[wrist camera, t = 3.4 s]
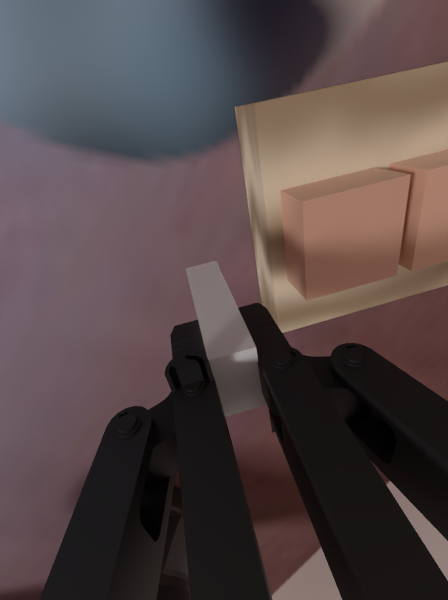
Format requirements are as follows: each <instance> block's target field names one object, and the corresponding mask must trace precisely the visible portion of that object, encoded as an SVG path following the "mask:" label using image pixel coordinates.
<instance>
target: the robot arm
mask: <svg viewBox="0 0 448 600" xmlns="http://www.w3.org/2000/svg"><path fill="white" fill-rule="evenodd" d="M186 272H187V276H188V280H189V284H190V288H191V293H192V297H193V301H194V305H195V309H196V313H197V317H198V320H195V321H191V322H188V323H184V324H180V325H177V326H174V329H173V331H172V333H171V335H170V336H171V345H172V356H173V359H172V360H171V361H170V362H169V364H168V365H167V367H166V370H165V376H166V378H167V381H168V383H169V386H170V388H171V393H170V395H169V396H168V397H167V398H166V399H165V400H163V401H162V402H161V403H159V404H158V405H156V406H154V407H152V408H151V409H149V410H147V409H146V408H144V407H140V406H133V407H129V408H126V409H124V410H122V411H121V412H119V413H117V414H116V415H115V416H114V417H113V418H112V419H111V421H110V422H109V424H108V426H107V427H106V430H105V432H104V435H103V437H102V440H101V443H100V445H99V448H98V450H97V453H96V455H95V458H94V461H93V463H92V466H91V468H90V471H89V474H88V476H87V479H86V481H85V484H84V486H83V489H82V492H81V494H80V497H79V499H78V502H77V504H76V507H75V510H74V512H73V515H72V517H71V520H70V523H69V525H68V528H67V530H66V533H65V535H64V538H63V541H62V543H61V546H60V548H59V551H58V554H57V556H56V559H55V561H54V564H53V566H52V569H51V572H50V574H49V577H48V579H47V582H46V584H45V587H44V590H43V592H42V595H41V597H40V600H190V598H191V600H272V597H271V593H270V589H269V585H268V581H267V577H266V574H265V570H264V566H263V562H262V558H261V554H260V550H259V546H258V543H257V539H256V535H255V531H254V527H253V523H252V519H251V515H250V511H249V508H248V504H247V500H246V496H245V492H244V488H243V484H242V480H241V477H240V473H239V469H238V465H237V461H236V457H235V453H234V449H233V445H232V442H231V438H230V434H229V430H228V427H227V423H226V419H225V417H228V416H231V415H234V414H238V413H241V412H244V411H248V410H251V409H254V408H257V407H261V406H264V405H265V401H266V403H267V406H268V408H269V414H270V420H271V427H272V433H273V432H276V434H277V437H278V439H279V442H280V444H281V447H282V449H283V452H284V454H285V457H286V459H287V462H288V464H289V467H290V469H291V472H292V474H293V477H294V479H295V482H296V484H297V487H298V489H299V492H300V494H301V497H302V499H303V502H304V504H305V507H306V509H307V512H308V514H309V517H310V520H311V522H312V525H313V527H314V530H315V532H316V535H317V537H318V540H319V542H320V545H321V547H322V550H323V552H324V555H325V557H326V560H327V562H328V565H329V567H330V570H331V572H332V574H333V577H334V579H335V582H336V585H337V587H338V590H339V592H340V595H341V597H342V600H448V581H447V579H446V577H445V576H444V574H443V573H442V571H441V570H440V568H439V567H438V565H437V563H436V562H435V560H434V559H433V558H432V556H431V554H430V553H429V551H428V550H427V548H426V546H425V545H424V543H423V542H422V540H421V539H420V537H419V536H418V534H417V532H416V531H415V529H414V528H413V526H412V525H411V523H410V521H409V520H408V518H407V517H406V515H405V514H404V512H403V511H402V509H401V507H400V506H399V504H398V503H397V501H396V500H395V498H394V497H393V495H392V493H391V492H390V490H389V489H388V487H387V486H386V484H385V482H384V481H383V479H382V478H381V476H380V475H379V473H378V472H377V470H376V468H375V467H374V465H373V464H372V462H373V463H374V464H375V465H376V466H377V467H378V468H379V469H380V471H381V472H382V473H383V474H384V475H385V476H386V477H387V478H388V479H389V480H390V481H391V482H392V483H393V484H394V485H395V486H396V487H397V488H398V489H399V490H400V491H401V492H402V493H403V495H404V496H405V497H406V498H407V499H408V500H409V501H410V502H411V503H412V504H413V505H414V506H415V507H416V508H417V509H418V510H419V511H420V512H421V513H422V514H423V515H424V516H425V518H426V519H427V520H428V521H430V523H431V524H432V525H433V526H434V527H435V528H436V529H437V530H438V531H439V532H440V533H441V534H442V535H443V536H444V537H445V538H446V539H447V541H448V401H446V400H445V399H443V398H442V397H441V396H439V395H438V394H436V393H435V392H433V391H432V390H430V389H429V388H427V387H426V386H424V385H423V384H422V383H420V382H419V381H417V380H416V379H414V378H413V377H411V376H410V375H408V374H407V373H405V372H404V371H403V370H401V369H400V368H398V367H397V366H395V365H394V364H392V363H391V362H389V361H388V360H386V359H385V358H384V357H382V356H381V355H379V354H378V353H376V352H375V351H373V350H372V349H370V348H368V347H366V346H364V345H361V344H356V343H345V344H342V345H339V346H337V347H336V348H335V349H334V350H333V351H332V354H331V356H325V357H311V356H306V355H302V354H301V353H300V352H299V351H298V350H296V349H294V348H292V347H291V346H290V345H289V343H288V342H287V340H286V338H285V337H284V335H283V333H282V332H281V330H280V329H279V327H278V325H277V324H276V323H275V321H274V319H273V317H272V316H271V314H270V312H269V311H268V309H267V308H266V307H264V306H263V305H261V304H259V303H254V304H251V305H247V306H243V307H240V308H238V307H237V305H236V303H235V301H234V299H233V296H232V294H231V292H230V290H229V288H228V286H227V284H226V281H225V279H224V277H223V275H222V273H221V271H220V269H219V266H218V264H217V262H216V261H214V262H210V263H206V264H202V265H198V266H194V267H190V268H186ZM264 398H265V399H264ZM370 460H371V461H372V462H371V461H370ZM177 470H179V474H180V485H181V490H179V489H176V488H174V482H175V476H176V471H177ZM189 587H190V590H189Z"/></svg>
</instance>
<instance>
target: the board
mask: <svg viewBox="0 0 448 600" xmlns="http://www.w3.org/2000/svg"><path fill="white" fill-rule="evenodd" d="M235 112H236V120H237V127H238V134H239V142H240V149H241V156H242V164H243V171H244V178H245V186H246V193H247V200H248V207H249V215H250V222H251V229H252V237H253V244H254V251H255V259H256V266H257V273H258V281H259V288H260V295H261V302H262V305H263V306H264V307H266V308H267V309H268V311H269V312H270V314H271V316H272V317H273V319H274V321H275V323H276V324H277V325H278V327H279V329H280V330H281V332H282V333H284V332H287V331H291V330H294V329H298V328H301V327H304V326H308V325H311V324H315V323H318V322H322V321H325V320H329V319H332V318H336V317H339V316H342V315H346V314H349V313H353V312H356V311H360V310H363V309H367V308H370V307H373V306H377V305H380V304H384V303H387V302H391V301H394V300H398V299H401V298H405V297H408V296H411V295H415V294H418V293H422V292H425V291H429V290H432V289H436V288H439V287H443V286H446V285H448V261H447V262H443V263H439V264H436V265H432V266H429V267H425V268H422V269H418V270H415V271H410V270H408V269H406V268H404V267H403V266H401V265H399V264H398V271H397V276H393V277H390V278H386V279H383V280H379V281H376V282H372V283H368V284H365V285H361V286H358V287H354V288H351V289H347V290H344V291H340V292H337V293H333V294H329V295H326V296H322V297H319V298H315V299H312V300H308V301H306V300H305V299H304V298H303V296H302V295H301V294H300V293H299V292H298V291H297V290H296V289H295V288H294V286H293V285H292V284H291V283H290V282H289V281H288V280H287V270H286V257H285V245H284V232H283V220H282V207H281V194H280V190H284V189H288V188H292V187H296V186H300V185H304V184H308V183H312V182H316V181H321V180H325V179H329V178H333V177H337V176H341V175H345V174H349V173H353V172H357V171H361V170H365V169H370V168H374V167H375V168H380V169H385V170H389V164H390V163H394V162H398V161H402V160H406V159H410V158H415V157H419V156H423V155H427V154H431V153H435V152H439V151H443V150H447V149H448V61H446V62H442V63H437V64H433V65H428V66H423V67H419V68H414V69H409V70H405V71H400V72H395V73H391V74H386V75H381V76H377V77H372V78H368V79H363V80H358V81H354V82H349V83H344V84H340V85H335V86H330V87H326V88H321V89H316V90H312V91H307V92H303V93H298V94H293V95H289V96H284V97H279V98H275V99H270V100H265V101H261V102H256V103H252V104H247V105H242V106H238V107H235Z"/></svg>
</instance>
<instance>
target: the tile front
mask: <svg viewBox="0 0 448 600" xmlns="http://www.w3.org/2000/svg"><path fill="white" fill-rule="evenodd" d="M410 177H411V174H406V173H401V172H396V171H391V170H385V169H380V168H375V167H374V168H370V169H365V170H361V171H357V172H353V173H349V174H345V175H341V176H337V177H333V178H329V179H325V180H321V181H316V182H312V183H308V184H304V185H300V186H296V187H292V188H288V189H284V190H280V194H281V207H282V220H283V232H284V245H285V257H286V270H287V280H288V281H289V282H290V283H291V284H292V285H293V286H294V288H295V289H296V290H297V291H298V292H299V293H300V294H301V295H302V296H303V298H304V299H305V300H306V301H308V300H312V299H315V298H319V297H322V296H326V295H329V294H333V293H337V292H340V291H344V290H347V289H351V288H354V287H358V286H361V285H365V284H368V283H372V282H376V281H379V280H383V279H386V278H390V277H393V276H397V271H398V263H399V256H400V249H401V242H402V235H403V227H404V220H405V213H406V206H407V199H408V191H409V184H410Z"/></svg>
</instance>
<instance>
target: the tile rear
mask: <svg viewBox="0 0 448 600" xmlns="http://www.w3.org/2000/svg"><path fill="white" fill-rule="evenodd" d="M389 170H391V171H396V172H401V173H406V174H411V177H410V184H409V191H408V199H407V206H406V213H405V220H404V227H403V235H402V242H401V249H400V256H399V263H398V264H399V265H401V266H403V267H404V268H406V269H408V270H410V271H415V270H418V269H422V268H425V267H429V266H432V265H436V264H439V263H443V262H447V261H448V149H447V150H443V151H439V152H435V153H431V154H427V155H423V156H419V157H415V158H410V159H406V160H402V161H398V162H394V163H390V164H389Z"/></svg>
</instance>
